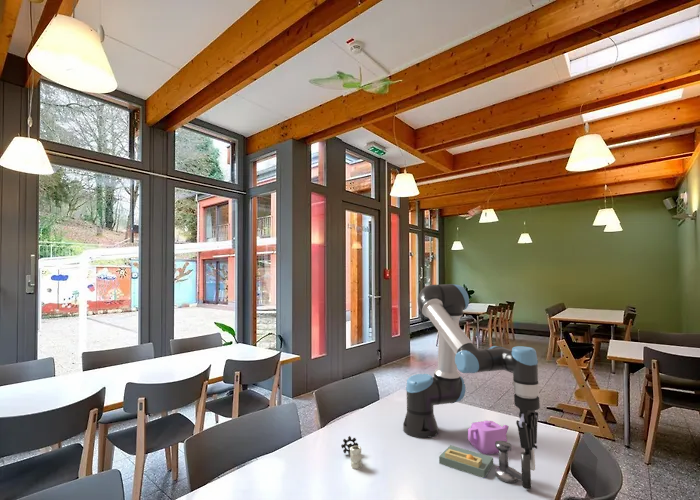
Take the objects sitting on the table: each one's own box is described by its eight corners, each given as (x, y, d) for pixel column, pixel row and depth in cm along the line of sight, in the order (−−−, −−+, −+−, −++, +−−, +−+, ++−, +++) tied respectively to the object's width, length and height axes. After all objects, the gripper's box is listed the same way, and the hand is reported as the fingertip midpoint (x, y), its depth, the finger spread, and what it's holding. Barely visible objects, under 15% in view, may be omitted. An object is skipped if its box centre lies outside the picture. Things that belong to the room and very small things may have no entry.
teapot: (500, 439, 149) (499, 414, 150) (517, 451, 139) (516, 424, 140) (461, 444, 145) (461, 418, 146) (477, 457, 135) (476, 429, 136)
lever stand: (439, 463, 130) (439, 448, 130) (450, 451, 139) (450, 438, 139) (484, 478, 120) (483, 462, 121) (493, 464, 129) (492, 449, 130)
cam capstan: (490, 473, 123) (489, 441, 123) (505, 469, 125) (504, 437, 126) (522, 494, 111) (521, 458, 112) (538, 488, 114) (536, 453, 115)
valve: (366, 468, 127) (357, 452, 139) (366, 449, 127) (357, 435, 139) (348, 471, 125) (341, 454, 137) (348, 451, 126) (341, 437, 137)
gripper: (522, 387, 126) (525, 457, 124) (506, 396, 117) (510, 471, 115) (545, 392, 120) (549, 465, 119) (531, 402, 112) (535, 481, 110)
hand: (530, 468), depth 117 cm, fingers closed
